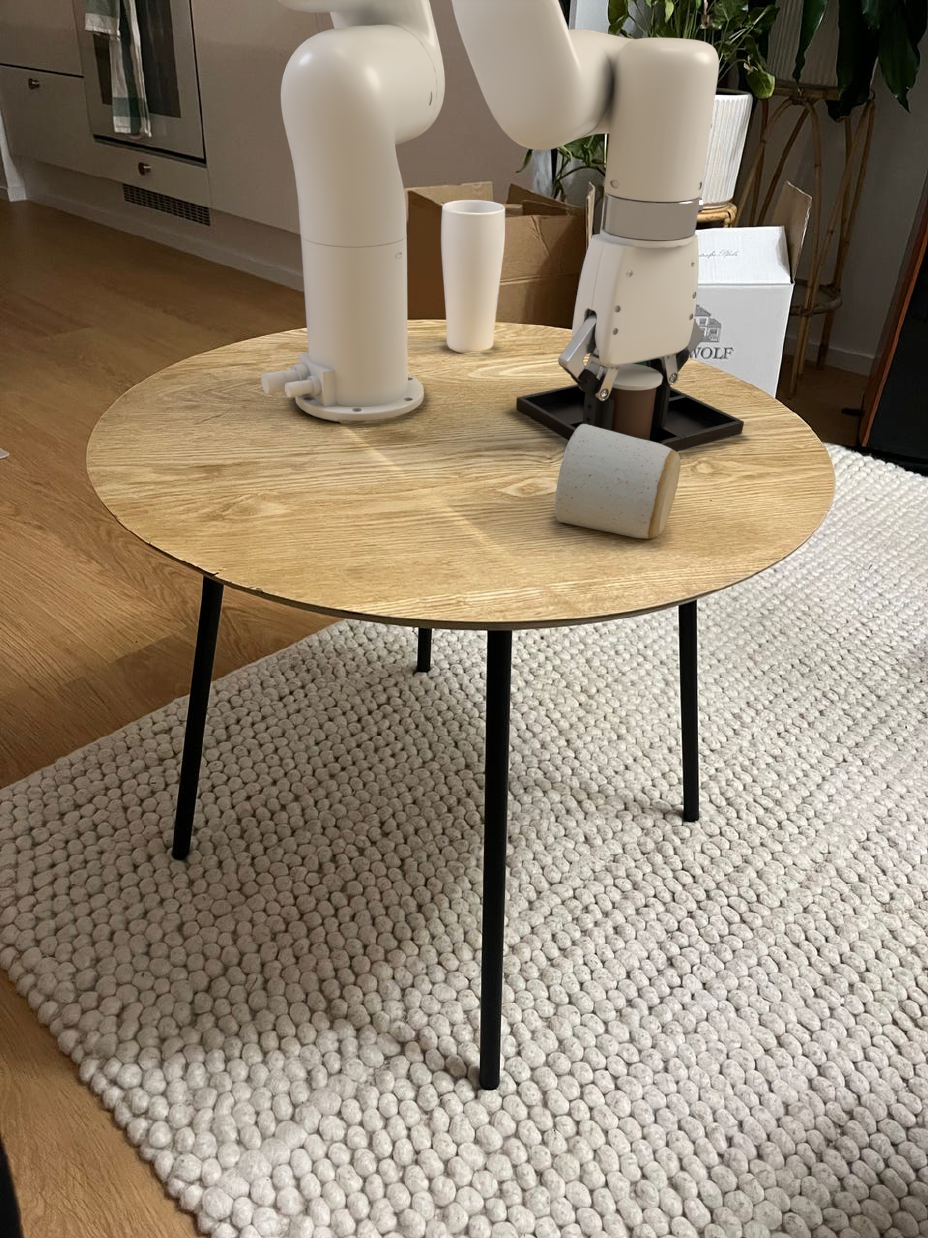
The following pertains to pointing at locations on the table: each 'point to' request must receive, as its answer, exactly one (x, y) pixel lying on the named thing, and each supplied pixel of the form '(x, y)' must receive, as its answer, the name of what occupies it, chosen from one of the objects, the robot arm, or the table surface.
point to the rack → (682, 430)
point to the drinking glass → (471, 271)
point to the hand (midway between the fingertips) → (623, 428)
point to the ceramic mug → (616, 483)
